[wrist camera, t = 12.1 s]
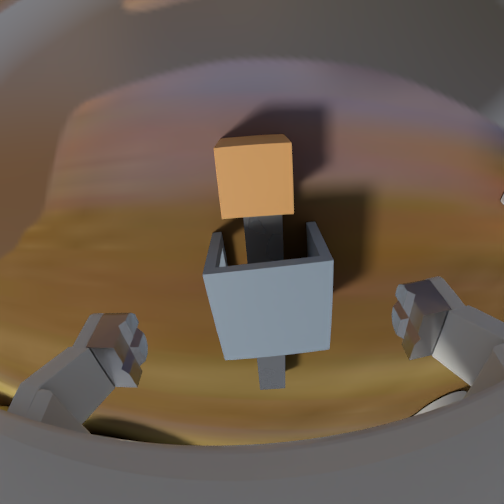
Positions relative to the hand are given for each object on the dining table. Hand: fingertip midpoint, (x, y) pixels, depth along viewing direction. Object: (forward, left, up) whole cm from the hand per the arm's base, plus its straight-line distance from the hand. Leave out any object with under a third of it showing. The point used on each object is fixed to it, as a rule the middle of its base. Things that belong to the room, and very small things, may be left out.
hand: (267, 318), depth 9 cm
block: (+1, 0, -18) cm, 18 cm away
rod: (-14, 0, -18) cm, 22 cm away
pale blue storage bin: (-10, 0, -18) cm, 20 cm away
